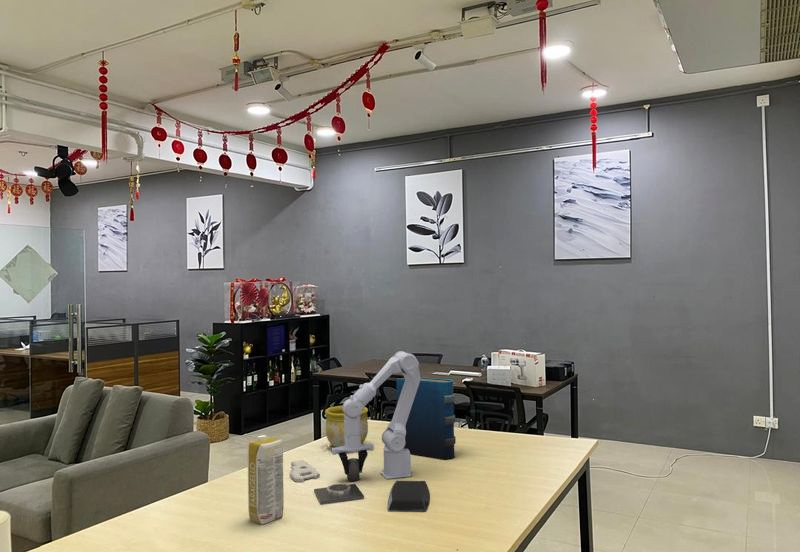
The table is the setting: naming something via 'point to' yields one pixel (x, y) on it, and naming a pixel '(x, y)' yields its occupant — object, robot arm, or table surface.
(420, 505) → the external hard drive
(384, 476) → the robot arm
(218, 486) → the table surface
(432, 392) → the book
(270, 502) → the juice carton
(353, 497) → the metal base plate
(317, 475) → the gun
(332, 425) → the flowerpot
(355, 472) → the blue-grey cylinder
